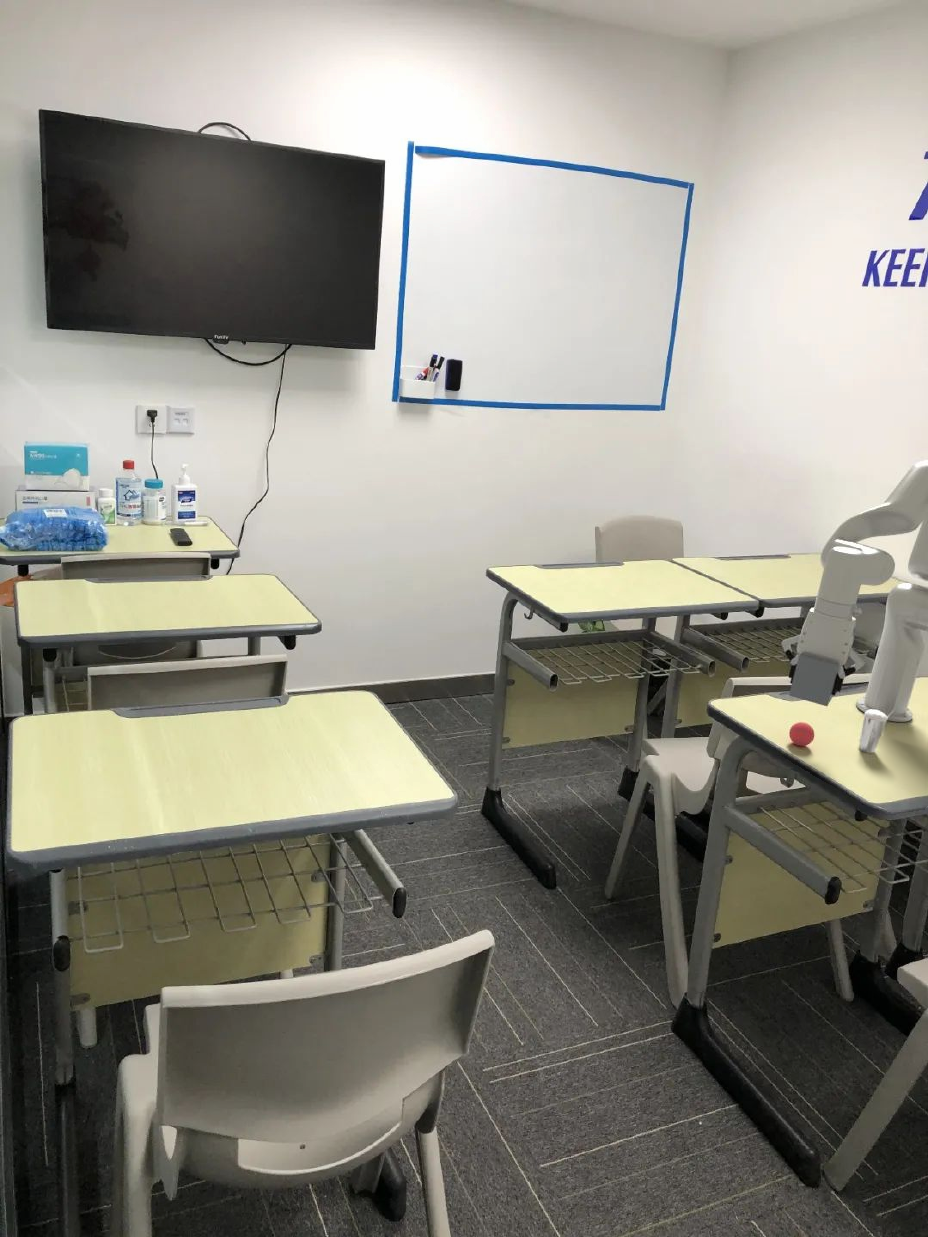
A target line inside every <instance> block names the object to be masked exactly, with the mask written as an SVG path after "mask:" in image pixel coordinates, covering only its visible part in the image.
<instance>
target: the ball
mask: <svg viewBox="0 0 928 1237" xmlns="http://www.w3.org/2000/svg"><path fill="white" fill-rule="evenodd" d="M788 734H789V739H790V741H791V742H792V743H793V744H794V745H796V746H800V747H805V746H809V745H810V744H811V743H812V742H813V741H814V738H815V731H814V729H813V727H812V726H811V725H810V724H808V723H807V722H804V721H803V722H801V721H799V722H796V723H794V724H793V725H792V726H791V727H790V729H789V733H788Z"/></svg>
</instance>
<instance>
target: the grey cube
mask: <svg viewBox="0 0 928 1237" xmlns="http://www.w3.org/2000/svg"><path fill="white" fill-rule="evenodd" d="M838 668H839V664H836V663H833V662H829V661H825V660H821V659H818V658H814V657H810V656H807V655H803V654H800V655H799V658H798V662H797V666H796V670H795V674H794V678H793V682H792V684H791V686H790V689H789V692H788V693H789V694H788V696H789V697H792V698H793V697H794V698H796V699H800V700H803V701H807V702H810V703H814V704H817V705H821V706H824V707H828V706H829V705H830V702H831V701H832V699H833V698H834V696H833V695H832V690H833V687H834V683H835V679H836V677H837V675H838Z"/></svg>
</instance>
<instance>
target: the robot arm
mask: <svg viewBox="0 0 928 1237" xmlns="http://www.w3.org/2000/svg"><path fill="white" fill-rule="evenodd" d="M919 527H920V528H919ZM918 528H919V531H918V533H917V536H916V539H915V541H914V544H913V547H912V550H911V553H910V555H909V559H908V562H907V563H908V564H907V568H908V569H907V571H908V572H909V574H910V575H911V576H913V577H915V578H916V579H919V580H923V581H925V582H928V460H924V461H919V462H917V463H915V464H914V465H912V466H911V468H909V470H908V471H907V472H906V474H905V475H904V476H903V477H902V478H901V480H900V482H899V483H898V484H897V485H896V486H895V487H894V489H893V490H892V492H891V493H890V494H889V495H888V497H887V498H886V499H885V501H884V502H883V503H882V504H881V505H877V506H875V507H872V508H869V509H866V510H864V511H862V512H860V513H857V514H855V515H853V516H851V517H849V518H847V519H846V520H845V521H843V522H842V523H841V524H840V525H839V526H838V527H837V528H836V530H835V531H834V532H833V534H832V535H831V536H830V538H829V539H828V541H827V542H826V544H824V547H823V549H822V551H821V554H820V564H821V567H822V569H823V572H822V575H821V578H820V583H819V587H818V592H817V595H816V598H815V602H814V607H811V608H810V609H809V611H808V613H807V615H806V617H805V620H804V623H803V625H802V628H801V632H800V634H798V635H797V634H796V635H795V636H791V637H789V638H786V639H783V640H782V641H781V646H782V649H783V650H784V651H783V652H784V654H785V656H786V657H787V659H788V660H789V663H790V665H791V666H790V669H789V673H788V678H789V679H790V680H789V682H790V684H791V685H792V682H793V678H794V674H795V670H796V666H797V662H798V658H799V655H800V654H803V655H807V656H810V657H814V658H818V659H821V660H825V661H829V662H833V663H836V664H839V668H838V675H837V677H836V679H835V683H834V687H833V690H832V695H833V697H835V696H836V694H837V692H839V693H841V690H842V687H843V683H844V679H845V678H846V677H849V676H851V675H853V674H855V672H857V671H858V670H860V669H861V668H862V667H864V666H865V664H866V661H865V660H864V659H863V658H862V657H861V656H860V655H859V654H858V653H857V651H856V650H855V649H854V648H853V643H854V639H855V634H856V625H857V619H856V618H855V617H854V616H861V615H862V613H863V608H859V607H858V605H857V601H858V597H859V594H860V590H861V586H862V585H864V586H871V587H875V586H876V587H877V586H880V585H882V584H885V583H887V582H888V581H889V580H890V579H891V578H892V576H893V575H894V573H895V569H896V568H895V567H896V562H895V559H894V558H893V556H892V555H891V554H890V553H889V552H887V551H886V550H883V549H880V548H877V547H873V546H868V545H865V544H862V543H859V542H861V541H863V540H866V539H870V538H876V537H888V536H896V535H897V536H898V535H904V534H910V533H912V532H914V531H916V530H917V529H918ZM884 618H885V619H884V624H883V630H882V633H881V637H880V641H879V644H878V648H877V651H876V652H877V653H876V656H875V660H874V662H873V667H872V670H871V672H870V673H871V674H870V678H869V682H868V683H867V684H868V685H867V687H866V688H867V689H866V691H865V692H866V693H865V695H864V696H860V697H858V698H857V699H856V702H855V705H856V707H857V708H858V709H859V710H860V711H862V712H863V713H865V712H866V711H867V710H870V709H872V710H878V711H880V712H883V713H884V714H885V715H886V716H887V717H888V715H889V714H890V713H891V712H892V711H893V710H894V711H893V712H892V714H891V715H890V716H889V717H888V719H887V721H890V722H896V723H897V722H898V723H904V722H910V720H912V718H913V712H912V711H911V709H909V708H908V706H909V704H910V699H911V697H912V693H913V690H914V687H915V683H916V679H917V676H918V672H919V669H920V666H921V662H922V659H923V657H924V656H923V655H924V652H925V640H924V636H923V634H922V631H923V632H927V633H928V587H927V586H923V585H921V584H916V583H908V582H906V583H905V582H904V583H899V584H897V585H895V586H894V587H892V589H891V590H890V592H889V593H888V595H887V600H886V605H885V617H884ZM794 644H797V645H796V647H795V648H796V649H795V650H796V653H797V654H795V652H794V650H793V648H792V647H791V645H794ZM849 659H851V660H852V661H853V662H854V664H853V665H851V666H849V667H846V664H847V662H848V661H849Z"/></svg>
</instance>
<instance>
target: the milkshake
mask: <svg viewBox="0 0 928 1237" xmlns="http://www.w3.org/2000/svg"><path fill="white" fill-rule="evenodd" d="M893 711H894V710H893ZM893 711H892V712H893ZM892 712H891V713H890V714H889V715H888V717H889V716H890V715H891V714H892ZM888 717H887V716H886V715H885V714H884V713H883V712H880V711H878V710H872V709H870V710H867V711H866V712H864V715H863V721H862V722H863V723H862V728H861V734H860V739H859V745H858V749H859V750H860V751H861V752H864V753H865V754H866V753H867V754H875V751H876V748H877V746H878V743H879V740H880V738H881V735H882V733H883V730H884V729H885V726H886V724H887V721H888V720H887V719H888Z"/></svg>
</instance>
